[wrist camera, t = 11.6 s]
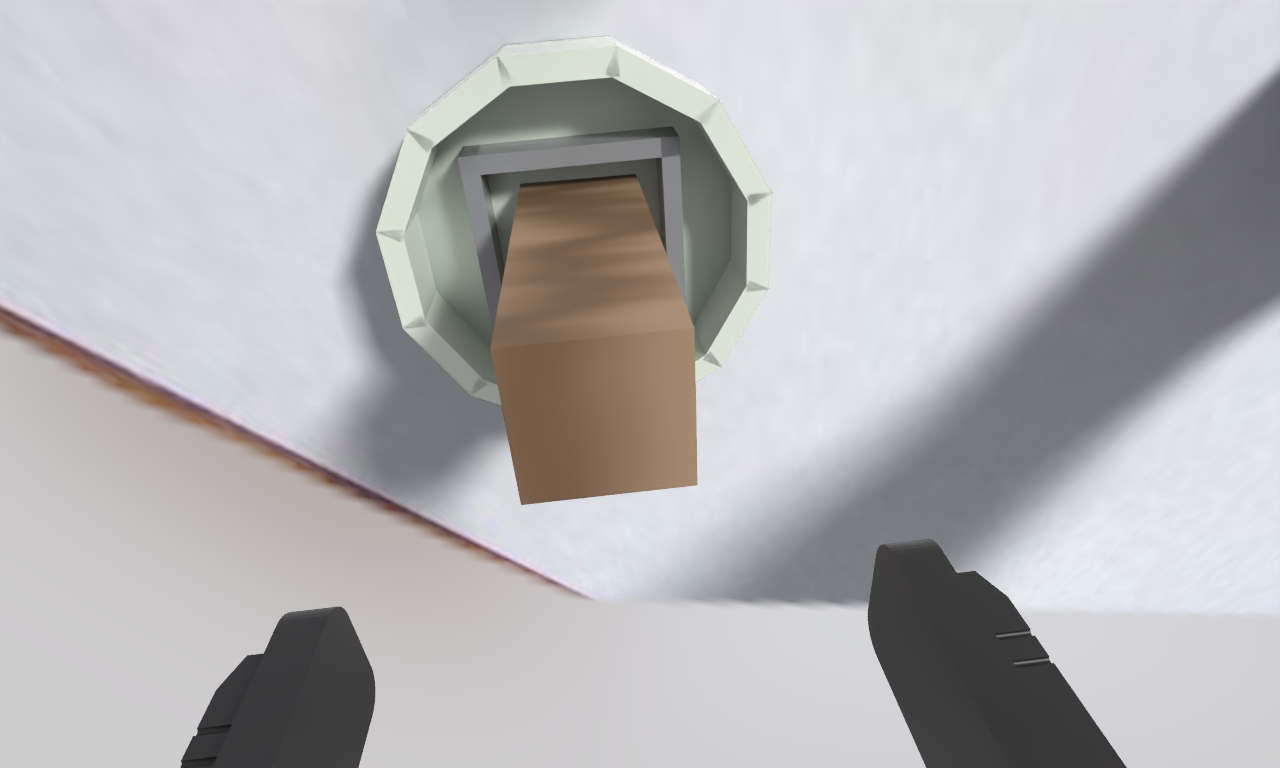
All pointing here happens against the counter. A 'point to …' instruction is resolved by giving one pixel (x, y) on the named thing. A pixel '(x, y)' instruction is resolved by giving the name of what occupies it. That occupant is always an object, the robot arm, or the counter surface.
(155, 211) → the counter surface
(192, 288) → the counter surface
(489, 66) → the pale green faceted dish
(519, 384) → the brown wooden block
